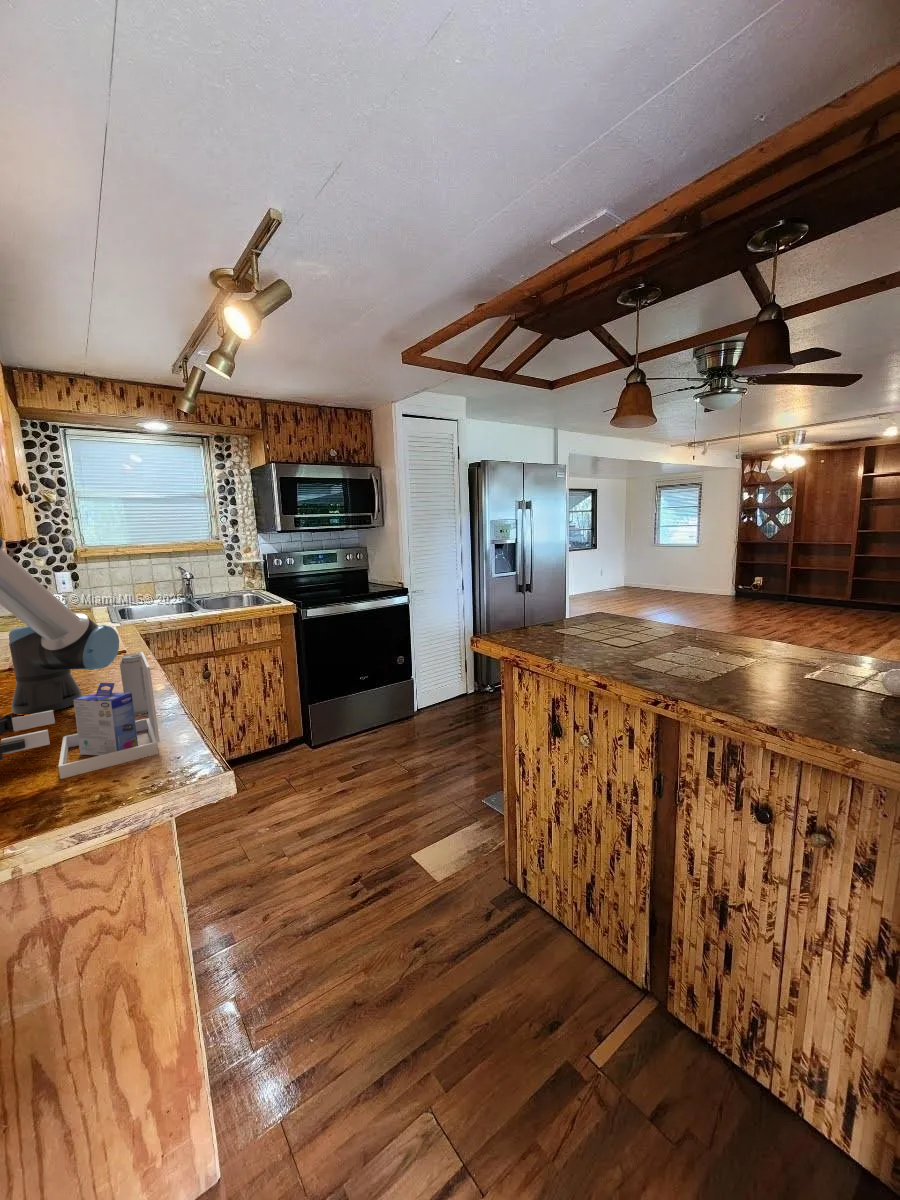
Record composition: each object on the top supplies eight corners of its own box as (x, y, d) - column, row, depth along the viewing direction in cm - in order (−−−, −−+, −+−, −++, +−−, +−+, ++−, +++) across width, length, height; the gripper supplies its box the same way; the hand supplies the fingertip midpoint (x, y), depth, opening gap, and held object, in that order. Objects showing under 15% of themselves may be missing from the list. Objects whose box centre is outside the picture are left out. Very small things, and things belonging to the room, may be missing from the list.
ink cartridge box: (140, 746, 105) (132, 681, 103) (118, 758, 100) (109, 690, 98) (102, 744, 108) (93, 680, 106) (79, 755, 102) (68, 688, 100)
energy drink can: (132, 709, 129) (124, 654, 127) (157, 706, 131) (150, 652, 129) (122, 717, 124) (114, 659, 122) (149, 714, 125) (141, 657, 123)
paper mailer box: (65, 747, 106) (51, 665, 104) (152, 727, 116) (142, 651, 113) (60, 779, 92) (45, 684, 89) (161, 753, 101) (149, 666, 99)
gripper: (-80, 753, 96) (58, 725, 108) (-127, 809, 76) (49, 766, 88) (-87, 717, 95) (53, 692, 107) (-137, 763, 75) (42, 726, 87)
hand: (51, 726), depth 97 cm, fingers open, 13 cm apart
